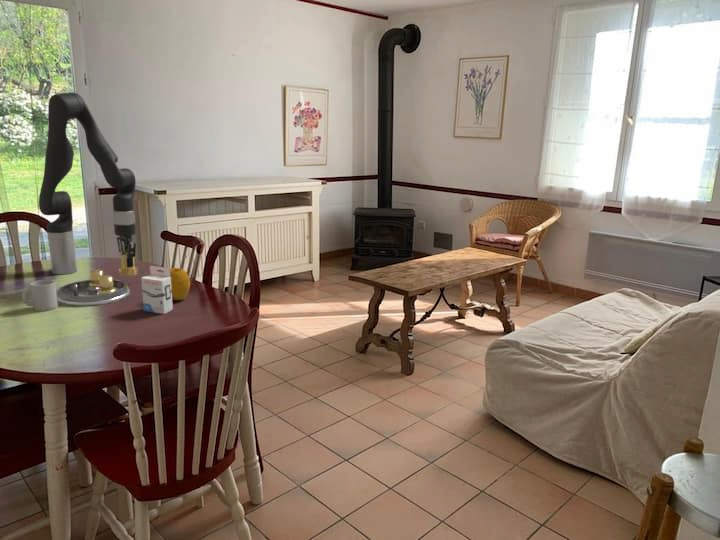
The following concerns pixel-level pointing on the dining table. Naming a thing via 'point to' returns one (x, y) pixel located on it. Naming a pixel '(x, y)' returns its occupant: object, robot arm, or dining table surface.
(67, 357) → the dining table surface
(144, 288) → the ink box
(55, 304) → the cup
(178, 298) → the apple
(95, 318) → the dining table surface
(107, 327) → the dining table surface
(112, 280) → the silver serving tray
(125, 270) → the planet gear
